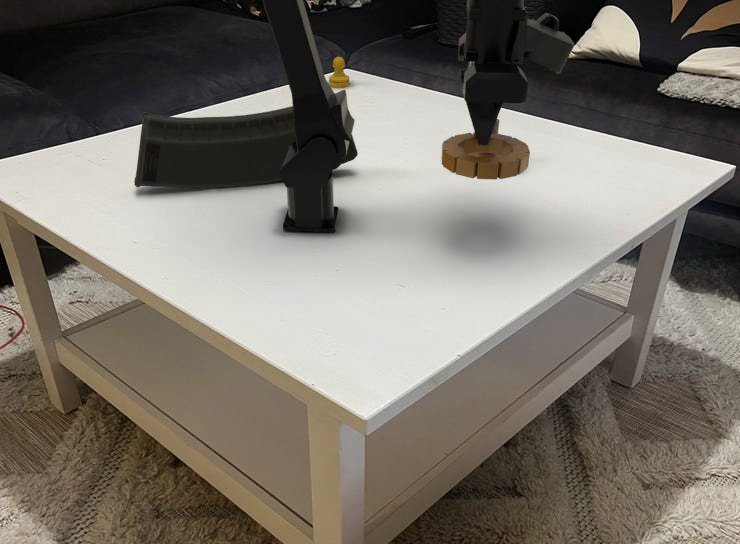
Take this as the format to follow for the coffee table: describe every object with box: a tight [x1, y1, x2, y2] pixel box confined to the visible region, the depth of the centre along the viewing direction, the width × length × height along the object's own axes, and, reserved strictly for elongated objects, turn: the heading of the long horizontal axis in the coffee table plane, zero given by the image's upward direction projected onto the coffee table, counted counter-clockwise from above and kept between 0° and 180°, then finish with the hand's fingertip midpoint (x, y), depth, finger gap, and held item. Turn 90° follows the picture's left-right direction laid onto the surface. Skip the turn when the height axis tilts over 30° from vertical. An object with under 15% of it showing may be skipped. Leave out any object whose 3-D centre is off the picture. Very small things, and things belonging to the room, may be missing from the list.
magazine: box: [134, 105, 359, 189], centre depth 99 cm, size 17×3×30 cm
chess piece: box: [328, 56, 350, 88], centre depth 139 cm, size 4×4×5 cm
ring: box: [440, 131, 531, 180], centre depth 82 cm, size 10×10×2 cm
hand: (482, 141), depth 85 cm, fingers closed on ring, 2 cm apart
